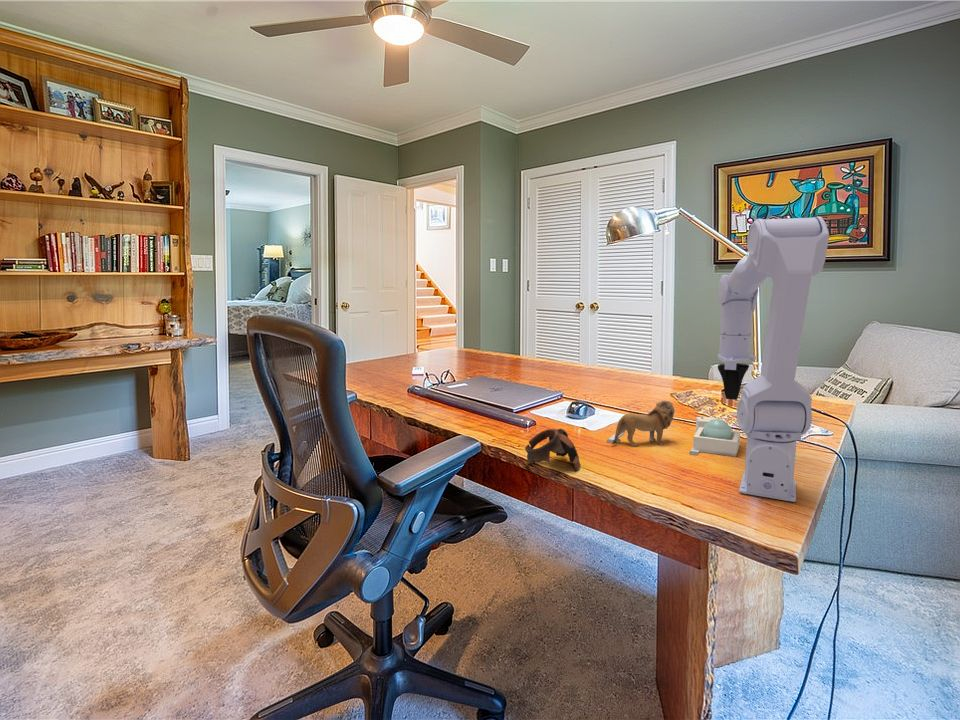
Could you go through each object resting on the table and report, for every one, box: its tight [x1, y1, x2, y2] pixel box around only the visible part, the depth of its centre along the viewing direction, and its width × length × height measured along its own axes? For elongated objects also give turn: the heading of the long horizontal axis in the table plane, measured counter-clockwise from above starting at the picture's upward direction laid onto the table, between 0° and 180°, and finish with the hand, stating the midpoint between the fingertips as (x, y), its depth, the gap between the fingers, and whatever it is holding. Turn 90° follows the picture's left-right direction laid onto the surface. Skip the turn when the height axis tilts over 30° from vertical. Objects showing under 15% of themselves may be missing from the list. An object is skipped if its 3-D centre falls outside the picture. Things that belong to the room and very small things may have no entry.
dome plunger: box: [703, 418, 732, 440], centre depth 108 cm, size 5×5×5 cm
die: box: [695, 416, 717, 433], centre depth 116 cm, size 4×4×4 cm
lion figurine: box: [611, 399, 675, 447], centre depth 112 cm, size 15×5×9 cm, turn 106°
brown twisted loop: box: [524, 428, 581, 473], centre depth 100 cm, size 12×10×8 cm
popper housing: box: [692, 427, 741, 457], centre depth 108 cm, size 8×8×3 cm
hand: (731, 398), depth 109 cm, fingers closed
